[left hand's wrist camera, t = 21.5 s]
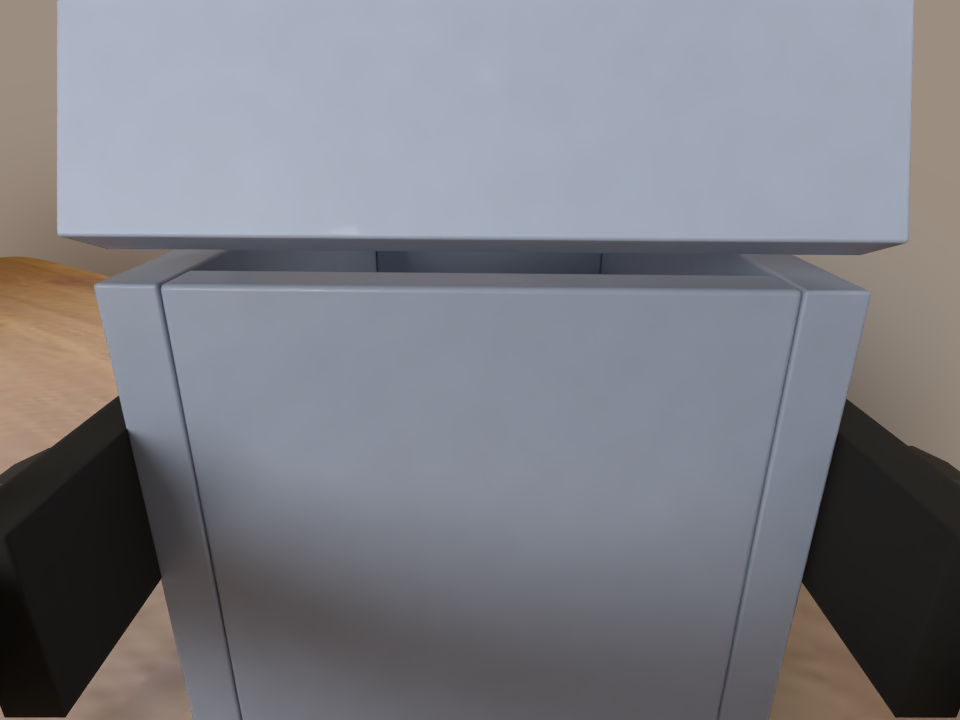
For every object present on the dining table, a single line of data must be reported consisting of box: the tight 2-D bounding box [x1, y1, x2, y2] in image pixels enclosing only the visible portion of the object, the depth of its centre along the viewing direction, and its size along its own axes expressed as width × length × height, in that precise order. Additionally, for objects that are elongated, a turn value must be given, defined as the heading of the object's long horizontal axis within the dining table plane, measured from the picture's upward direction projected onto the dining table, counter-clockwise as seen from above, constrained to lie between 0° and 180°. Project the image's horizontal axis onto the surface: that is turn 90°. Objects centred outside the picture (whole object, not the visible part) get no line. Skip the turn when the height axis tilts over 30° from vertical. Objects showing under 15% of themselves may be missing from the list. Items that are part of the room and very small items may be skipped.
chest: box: [94, 249, 871, 720], centre depth 18 cm, size 16×10×10 cm, turn 179°
